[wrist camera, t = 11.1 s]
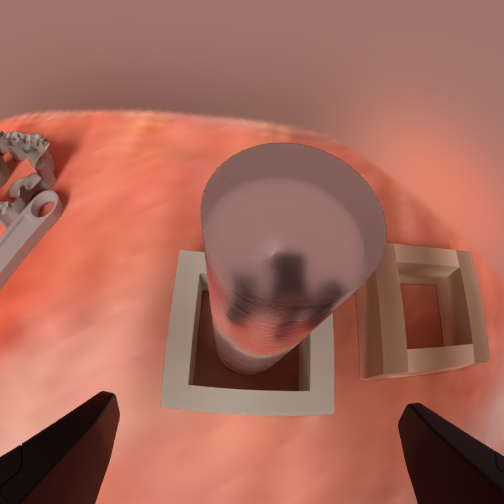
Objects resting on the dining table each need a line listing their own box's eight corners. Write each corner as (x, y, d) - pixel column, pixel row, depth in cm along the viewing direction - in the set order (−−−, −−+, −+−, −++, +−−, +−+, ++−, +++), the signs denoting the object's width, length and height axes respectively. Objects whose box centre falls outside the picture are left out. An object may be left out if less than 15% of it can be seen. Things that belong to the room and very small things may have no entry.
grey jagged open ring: (70, 172, 22) (53, 137, 18) (11, 244, 18) (-16, 215, 15) (12, 142, 23) (-3, 113, 20) (-36, 197, 20) (-57, 171, 16)
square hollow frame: (317, 279, 19) (330, 261, 17) (319, 413, 15) (334, 414, 13) (184, 269, 19) (179, 250, 16) (169, 406, 15) (160, 406, 13)
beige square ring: (447, 270, 20) (470, 252, 17) (461, 369, 17) (490, 360, 14) (352, 263, 20) (371, 240, 17) (359, 380, 16) (383, 373, 14)
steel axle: (294, 349, 17) (416, 232, 6) (242, 388, 16) (287, 346, 5) (254, 300, 18) (302, 124, 7) (202, 335, 17) (165, 188, 6)
